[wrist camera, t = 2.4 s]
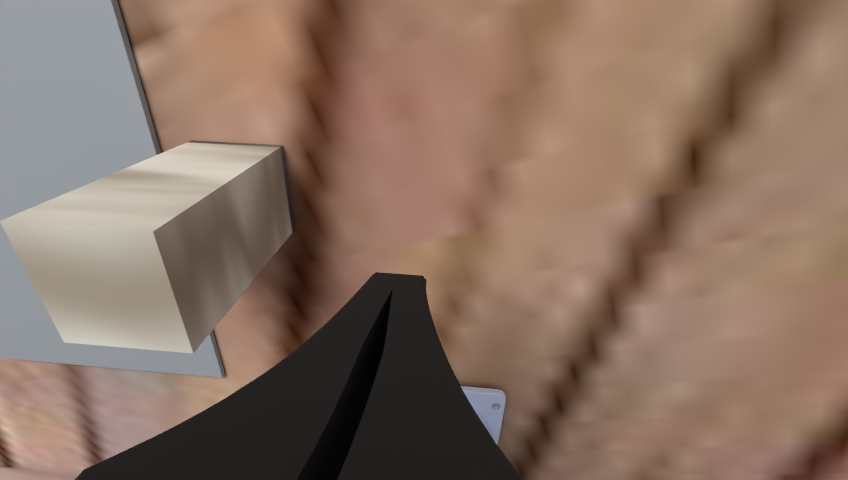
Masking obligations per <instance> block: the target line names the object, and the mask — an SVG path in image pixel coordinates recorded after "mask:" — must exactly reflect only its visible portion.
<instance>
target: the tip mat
mask: <svg viewBox="0 0 848 480" xmlns="http://www.w3.org/2000/svg"><path fill="white" fill-rule="evenodd" d="M158 154H161V150H160V147H159V143H158V140H157V136H156V133H155V130H154V126H153V123H152V119H151V116H150V112H149V109H148V105H147V102H146V98H145V95H144V91H143V88H142V85H141V81H140V78H139V74H138V71H137V67H136V64H135V60H134V57H133V53H132V50H131V46H130V43H129V40H128V36H127V33H126V29H125V26H124V22H123V19H122V15H121V12H120V8H119V5H118V1H117V0H0V221H1V220H4V219H6V218H8V217H11V216H13V215H15V214H18V213H20V212H23V211H25V210H27V209H30V208H32V207H35V206H37V205H39V204H42V203H44V202H46V201H49V200H51V199H54V198H56V197H58V196H61V195H63V194H65V193H68V192H70V191H73V190H75V189H77V188H80V187H82V186H85V185H87V184H89V183H92V182H94V181H96V180H99V179H101V178H104V177H106V176H108V175H111V174H113V173H115V172H118V171H120V170H123V169H125V168H127V167H130V166H132V165H135V164H137V163H139V162H142V161H144V160H146V159H149V158H151V157H154V156H156V155H158ZM0 357H1V358H8V359H19V360H30V361H41V362H52V363H63V364H74V365H85V366H97V367H108V368H119V369H130V370H141V371H152V372H163V373H174V374H185V375H196V376H208V377H219V378H223V376H224V375H225V372H224V368H223V365H222V361H221V358H220V354H219V351H218V347H217V344H216V341H215V337H214V334H213V330H212V331H211V333H210V334H209V335H208V336H207V338H206V339H205V340H204V341H203V342H202V344H201V345H200V346H199V347H198V349H197V350H196V351H195V352H194V353H181V352H170V351H158V350H146V349H135V348H123V347H111V346H100V345H88V344H76V343H65V342H64V341H63V340H62V338H61V336H60V334H59V332H58V330H57V328H56V326H55V325H54V323H53V321H52V319H51V317H50V315H49V313H48V311H47V309H46V308H45V306H44V304H43V302H42V300H41V298H40V296H39V294H38V293H37V291H36V289H35V287H34V285H33V283H32V281H31V279H30V278H29V276H28V274H27V272H26V270H25V268H24V266H23V264H22V263H21V261H20V259H19V257H18V255H17V253H16V251H15V249H14V247H13V246H12V244H11V242H10V240H9V238H8V236H7V234H6V232H5V231H4V229H3V227H2V225H1V223H0Z"/></svg>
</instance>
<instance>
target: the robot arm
mask: <svg viewBox="0 0 848 480" xmlns="http://www.w3.org/2000/svg"><path fill="white" fill-rule="evenodd" d="M505 404H506V395H505V393H504V392H503V391H502V390H499V389H489V388H477V387H466V386H460V384H459V382H458V380H457V378H456V376H455V374H454V372H453V370H452V368H451V366H450V364H449V362H448V360H447V357H446V355H445V353H444V350H443V348H442V345H441V343H440V340H439V338H438V335H437V332H436V329H435V326H434V323H433V320H432V317H431V313H430V309H429V305H428V300H427V295H426V279H425V278H424V277H423V276H419V275H405V274H391V273H377V272H376V273H375V274H373V275H372V276H371V277H370V278H369V279H368V281H367V282H366V283H365V284H364V285H363V286H362V287H361V288H360V290H359V291H358V292H357V293H356V294H355V295H354V296H353V297H352V298H351V299H350V300H349V301H348V302H347V303H346V304H345V305H344V306H343V307H342V308H341V309H340V310H339V311H338V312H337V313H336V314H335V315H334V316H333V317H332V318H331V319H330V320H329V321H328V322H327V323H326V324H325V325H324V326H323V327H322V328H321V329H319V330H318V331H317V332H316V333H315V334H314V335H313V336H312V337H310V338H309V339H308V340H307V341H306V342H305V343H304V344H302V345H301V346H300V347H299V348H297V349H296V350H295V351H294V352H292V353H291V354H290V355H289V356H287V357H286V358H285V359H283V360H282V361H281V362H279V363H278V364H277V365H275V366H274V367H273V368H271V369H270V370H269V371H267V372H266V373H264V374H263V375H261V376H260V377H258V378H256V379H255V380H253V381H252V382H250V383H249V384H247V385H246V386H244V387H242V388H241V389H239V390H238V391H236V392H235V393H233V394H232V395H230V396H228V397H227V398H225V399H223V400H222V401H220V402H218V403H217V404H215V405H213V406H211V407H210V408H208V409H206V410H204V411H203V412H201V413H199V414H197V415H195V416H193V417H192V418H190V419H188V420H186V421H184V422H182V423H180V424H179V425H177V426H175V427H173V428H171V429H169V430H167V431H165V432H163V433H161V434H159V435H157V436H155V437H153V438H151V439H149V440H147V441H145V442H142V443H140V444H138V445H136V446H134V447H132V448H130V449H128V450H126V451H123V452H121V453H119V454H117V455H115V456H113V457H111V458H109V459H107V460H104V461H102V462H100V463H98V464H96V465H93V466H91V467H89V468H87V469H84V470H83V471H82V472H81V474H80V475H79V476H78V477H77V478H76V479H75V480H523V479H522V478H521V477H520V475H519V474H518V473H517V471H516V470H515V469H514V467H513V466H512V465H511V463H510V462H509V461H508V459H507V458H506V456H505V455H504V454H503V452H502V451H501V450H500V448H499V447H498V441H499V436H500V430H501V425H502V420H503V415H504V409H505Z"/></svg>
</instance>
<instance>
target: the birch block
mask: <svg viewBox="0 0 848 480" xmlns="http://www.w3.org/2000/svg"><path fill="white" fill-rule="evenodd" d="M0 223H1V225H2V227H3V229H4V231H5V232H6V234H7V236H8V238H9V240H10V242H11V244H12V246H13V247H14V249H15V251H16V253H17V255H18V257H19V259H20V261H21V263H22V264H23V266H24V268H25V270H26V272H27V274H28V276H29V278H30V279H31V281H32V283H33V285H34V287H35V289H36V291H37V293H38V294H39V296H40V298H41V300H42V302H43V304H44V306H45V308H46V309H47V311H48V313H49V315H50V317H51V319H52V321H53V323H54V325H55V326H56V328H57V330H58V332H59V334H60V336H61V338H62V340H63V341H64V342H65V343H76V344H88V345H100V346H111V347H123V348H135V349H146V350H158V351H170V352H181V353H194V352H195V351H196V350H197V349H198V347H199V346H200V345H201V344H202V342H203V341H204V340H205V339H206V338H207V336H208V335H209V334H210V333H211V331H212V330H213V329H214V328H215V327H216V325H217V324H218V323H219V322H220V321H221V319H222V318H223V317H224V316H225V314H226V313H227V312H228V311H229V310H230V308H231V307H232V306H233V305H234V303H235V302H236V301H237V300H238V299H239V297H240V296H241V295H242V294H243V293H244V291H245V290H246V289H247V288H248V286H249V285H250V284H251V283H252V282H253V280H254V279H255V278H256V277H257V275H258V274H259V273H260V272H261V271H262V269H263V268H264V267H265V266H266V264H267V263H268V262H269V261H270V260H271V258H272V257H273V256H274V255H275V254H276V252H277V251H278V250H279V249H280V247H281V246H282V245H283V244H284V243H285V241H286V240H287V239H288V238H289V236H290V235H291V234H292V233H293V232H294V230H295V229H294V221H293V214H292V207H291V200H290V193H289V186H288V179H287V172H286V164H285V157H284V150H283V145H265V144H246V143H227V142H208V141H189V142H187V143H185V144H182V145H180V146H177V147H175V148H173V149H170V150H168V151H166V152H163V153H161V154H158V155H156V156H154V157H151V158H149V159H146V160H144V161H142V162H139V163H137V164H135V165H132V166H130V167H127V168H125V169H123V170H120V171H118V172H115V173H113V174H111V175H108V176H106V177H104V178H101V179H99V180H96V181H94V182H92V183H89V184H87V185H85V186H82V187H80V188H77V189H75V190H73V191H70V192H68V193H65V194H63V195H61V196H58V197H56V198H54V199H51V200H49V201H46V202H44V203H42V204H39V205H37V206H35V207H32V208H30V209H27V210H25V211H23V212H20V213H18V214H15V215H13V216H11V217H8V218H6V219H4V220H1V221H0Z"/></svg>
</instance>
